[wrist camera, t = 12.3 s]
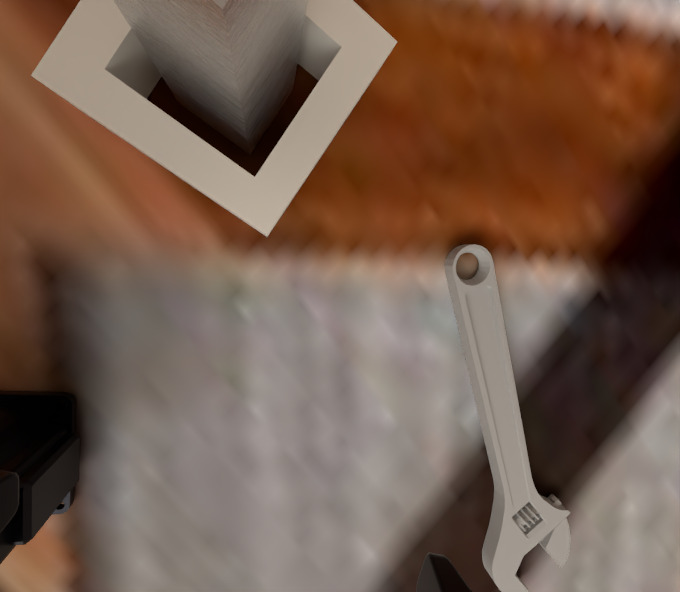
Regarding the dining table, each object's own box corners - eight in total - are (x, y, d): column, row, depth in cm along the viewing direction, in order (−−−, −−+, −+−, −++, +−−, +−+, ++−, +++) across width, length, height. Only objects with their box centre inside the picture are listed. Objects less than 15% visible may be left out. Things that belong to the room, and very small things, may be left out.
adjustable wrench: (434, 249, 22) (448, 250, 20) (526, 229, 23) (547, 228, 21) (483, 585, 26) (499, 609, 25) (559, 555, 27) (578, 576, 26)
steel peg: (250, 155, 19) (222, 8, 7) (179, 103, 18) (7, -168, 6) (292, 90, 18) (336, -168, 7) (223, 35, 17) (138, -376, 6)
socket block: (267, 237, 19) (267, 236, 15) (85, 113, 17) (30, 75, 13) (370, 82, 19) (397, 41, 15) (203, -65, 17) (184, -158, 13)
